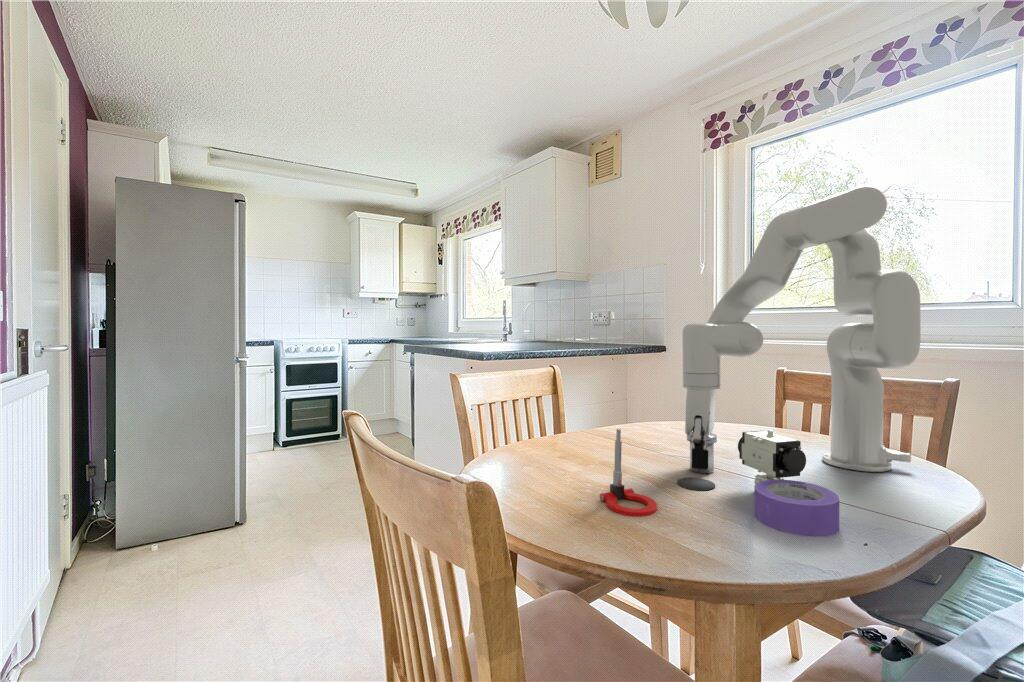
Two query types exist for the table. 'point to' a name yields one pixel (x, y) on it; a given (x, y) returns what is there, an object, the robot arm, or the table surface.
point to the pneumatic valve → (771, 455)
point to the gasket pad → (696, 484)
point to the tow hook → (619, 491)
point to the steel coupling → (710, 447)
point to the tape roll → (797, 507)
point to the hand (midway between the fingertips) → (701, 464)
